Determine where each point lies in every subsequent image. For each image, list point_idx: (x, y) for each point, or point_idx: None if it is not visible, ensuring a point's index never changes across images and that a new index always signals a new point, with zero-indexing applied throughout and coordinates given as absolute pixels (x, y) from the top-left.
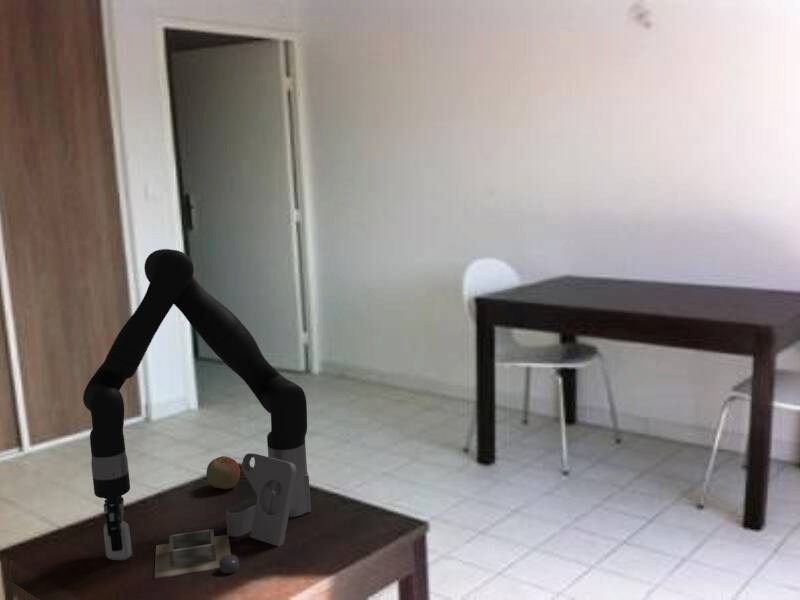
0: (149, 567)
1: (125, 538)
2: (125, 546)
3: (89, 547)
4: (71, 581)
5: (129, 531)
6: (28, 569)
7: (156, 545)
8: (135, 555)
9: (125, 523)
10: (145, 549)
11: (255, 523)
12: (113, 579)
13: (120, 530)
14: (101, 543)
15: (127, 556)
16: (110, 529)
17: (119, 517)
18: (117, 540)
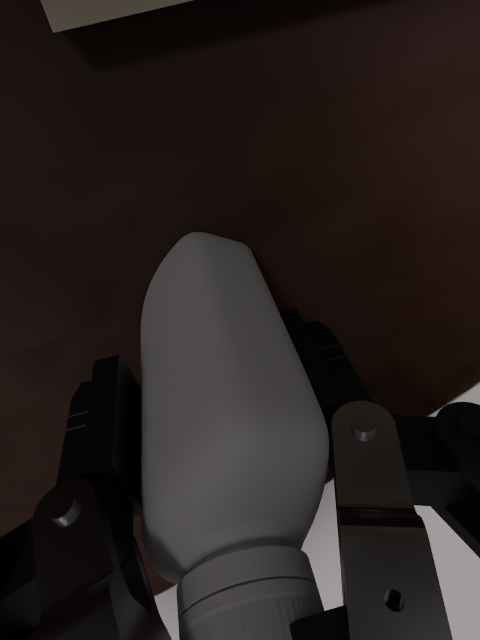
0: (419, 16)
1: (289, 339)
2: (271, 298)
3: None
4: (401, 400)
5: (223, 356)
6: None
7: (55, 27)
8: (177, 206)
9: (259, 467)
10: (65, 154)
11: None
12: (476, 239)
13: (397, 437)
14: (10, 441)
15: (248, 249)
16: (463, 518)
17: (292, 599)
18: (356, 381)
